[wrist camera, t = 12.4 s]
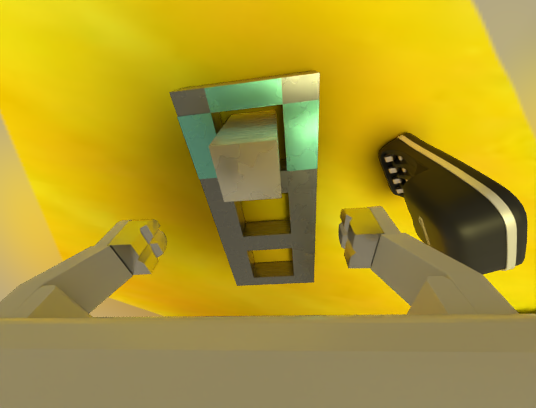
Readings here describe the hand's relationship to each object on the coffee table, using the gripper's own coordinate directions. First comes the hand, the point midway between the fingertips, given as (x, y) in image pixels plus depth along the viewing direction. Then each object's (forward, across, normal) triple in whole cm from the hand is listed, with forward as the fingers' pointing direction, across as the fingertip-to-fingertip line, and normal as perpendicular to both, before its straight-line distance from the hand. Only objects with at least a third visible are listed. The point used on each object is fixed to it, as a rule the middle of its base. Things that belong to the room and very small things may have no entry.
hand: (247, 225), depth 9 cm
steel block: (+13, +1, 0) cm, 13 cm away
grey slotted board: (+13, +1, +8) cm, 15 cm away
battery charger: (+13, -13, +4) cm, 19 cm away
